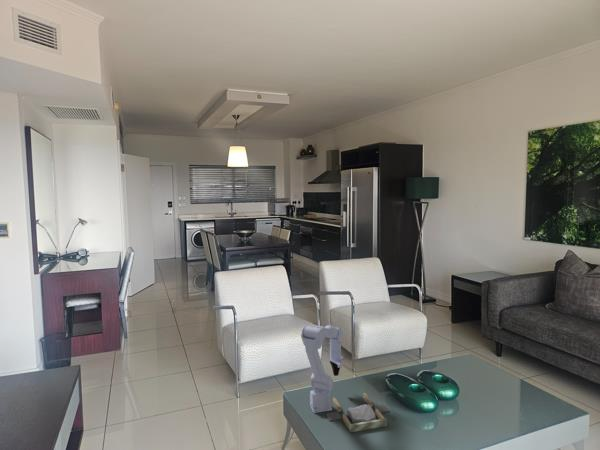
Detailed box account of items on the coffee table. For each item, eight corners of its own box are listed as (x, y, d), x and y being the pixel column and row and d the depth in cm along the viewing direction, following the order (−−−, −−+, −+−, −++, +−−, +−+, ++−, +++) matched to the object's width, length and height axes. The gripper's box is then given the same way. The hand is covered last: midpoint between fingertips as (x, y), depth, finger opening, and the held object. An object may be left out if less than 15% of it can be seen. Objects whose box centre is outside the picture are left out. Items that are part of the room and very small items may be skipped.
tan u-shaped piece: (350, 432, 172) (350, 425, 172) (332, 402, 197) (332, 396, 197) (386, 426, 176) (386, 419, 176) (365, 397, 201) (365, 391, 200)
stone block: (378, 425, 180) (369, 409, 190) (378, 416, 179) (369, 401, 188) (353, 430, 178) (345, 414, 187) (354, 421, 176) (346, 406, 186)
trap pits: (329, 421, 181) (329, 420, 181) (325, 414, 187) (325, 413, 187) (389, 411, 187) (389, 410, 187) (384, 405, 193) (384, 404, 193)
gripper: (347, 354, 198) (347, 380, 200) (338, 343, 213) (338, 368, 214) (334, 356, 197) (334, 382, 198) (325, 345, 211) (326, 369, 212)
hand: (336, 375), depth 206 cm, fingers closed
